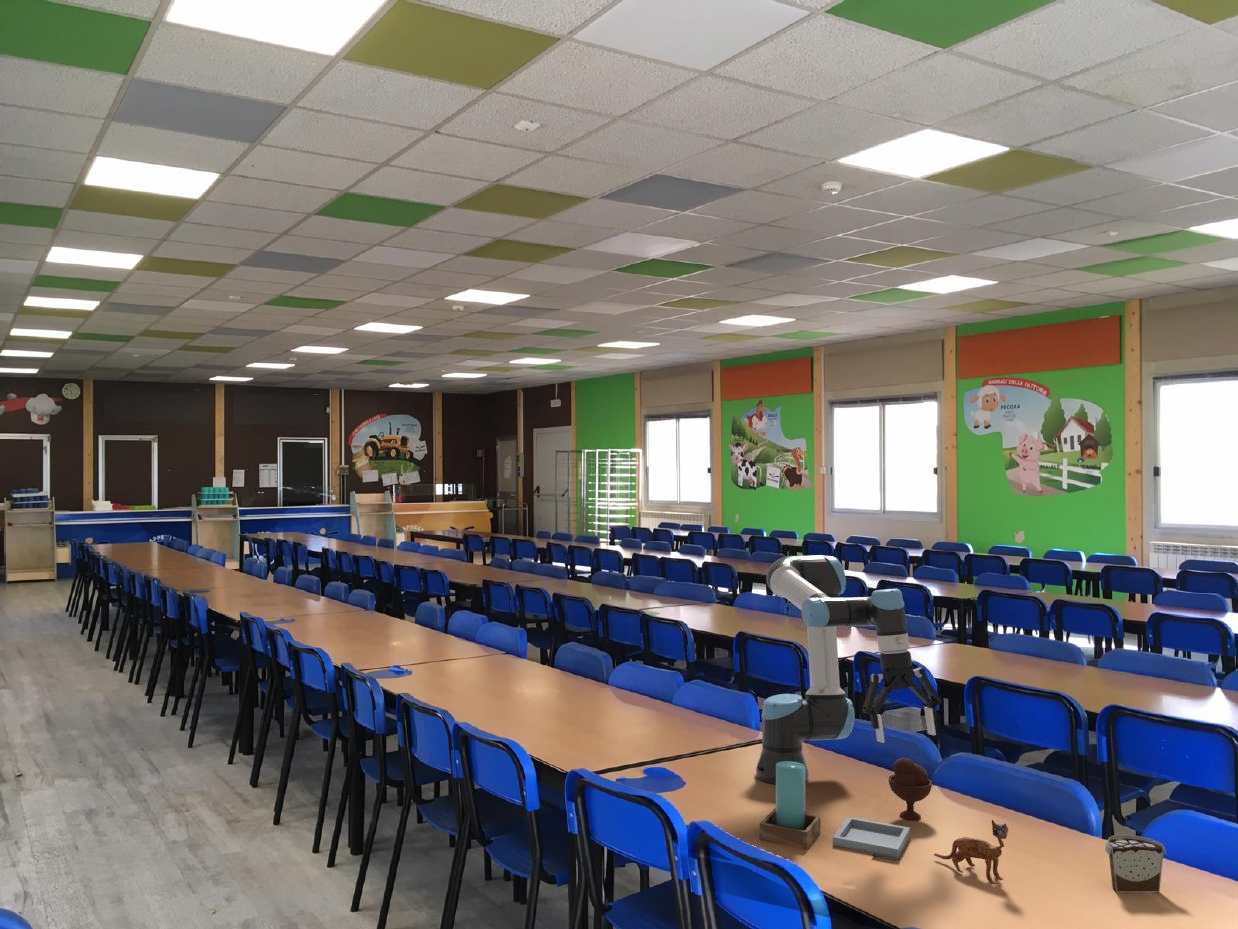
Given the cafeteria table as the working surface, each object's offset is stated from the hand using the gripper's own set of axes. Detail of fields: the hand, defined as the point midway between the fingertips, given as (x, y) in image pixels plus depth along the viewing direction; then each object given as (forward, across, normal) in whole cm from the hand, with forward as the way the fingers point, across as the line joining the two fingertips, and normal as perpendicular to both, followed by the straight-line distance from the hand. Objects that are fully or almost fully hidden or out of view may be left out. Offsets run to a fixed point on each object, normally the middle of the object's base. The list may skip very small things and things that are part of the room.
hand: (906, 738), depth 226 cm
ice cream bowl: (+23, +4, +12) cm, 26 cm away
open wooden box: (+20, -32, +3) cm, 38 cm away
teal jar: (+20, -32, +3) cm, 37 cm away
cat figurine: (+26, +1, -20) cm, 33 cm away
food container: (+30, +31, -32) cm, 54 cm away
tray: (+22, -13, -2) cm, 26 cm away
